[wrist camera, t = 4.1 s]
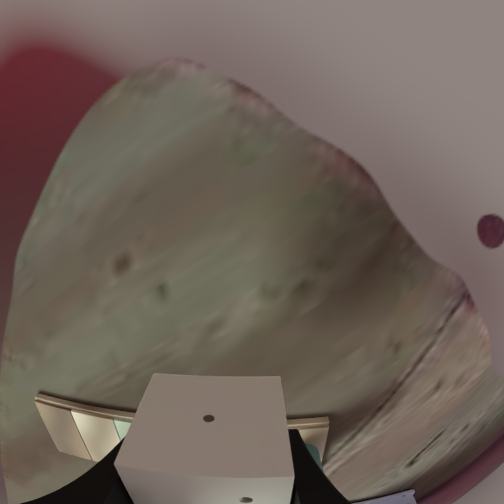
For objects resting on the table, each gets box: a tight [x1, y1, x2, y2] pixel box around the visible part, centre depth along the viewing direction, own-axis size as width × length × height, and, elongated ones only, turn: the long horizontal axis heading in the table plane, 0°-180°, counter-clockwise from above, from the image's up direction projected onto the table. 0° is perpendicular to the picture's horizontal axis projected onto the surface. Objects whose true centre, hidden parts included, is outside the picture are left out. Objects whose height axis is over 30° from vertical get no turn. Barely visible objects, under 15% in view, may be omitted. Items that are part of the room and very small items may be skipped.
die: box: [114, 373, 295, 504], centre depth 10 cm, size 5×5×5 cm
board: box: [35, 393, 329, 462], centre depth 21 cm, size 24×7×1 cm, turn 90°
